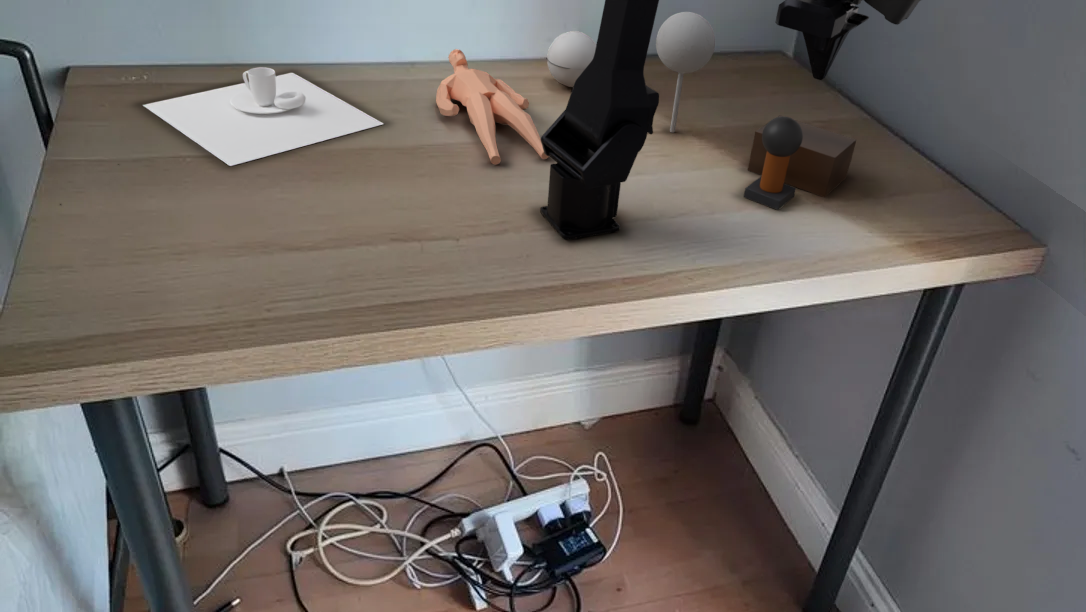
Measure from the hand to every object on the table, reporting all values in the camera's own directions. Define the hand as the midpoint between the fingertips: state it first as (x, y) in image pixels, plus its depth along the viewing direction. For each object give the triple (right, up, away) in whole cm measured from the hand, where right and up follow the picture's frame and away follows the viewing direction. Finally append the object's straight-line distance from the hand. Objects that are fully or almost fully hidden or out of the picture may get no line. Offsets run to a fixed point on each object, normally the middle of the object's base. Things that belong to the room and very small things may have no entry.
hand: (818, 78), depth 107 cm
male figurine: (-39, -2, +11) cm, 41 cm away
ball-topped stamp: (-4, -12, +3) cm, 13 cm away
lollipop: (-15, -3, +14) cm, 21 cm away
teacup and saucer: (-65, -3, +6) cm, 65 cm away
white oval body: (-28, +5, +23) cm, 36 cm away
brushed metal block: (-1, -10, +7) cm, 12 cm away
